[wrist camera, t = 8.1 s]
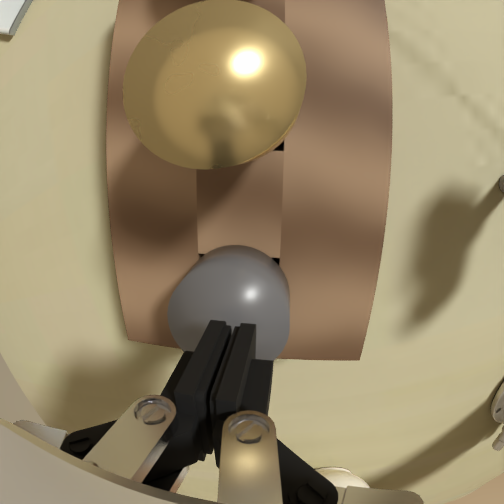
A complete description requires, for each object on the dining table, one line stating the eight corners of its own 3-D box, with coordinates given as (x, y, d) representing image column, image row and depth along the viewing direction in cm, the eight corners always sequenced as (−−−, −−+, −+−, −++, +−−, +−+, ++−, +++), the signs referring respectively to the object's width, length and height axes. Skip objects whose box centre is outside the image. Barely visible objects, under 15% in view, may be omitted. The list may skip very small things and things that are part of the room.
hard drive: (46, -32, 13) (0, -25, 12) (7, 34, 15) (-30, 30, 15) (54, -28, 14) (7, -22, 14) (17, 36, 17) (-22, 31, 16)
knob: (287, 299, 20) (284, 377, 13) (211, 294, 21) (174, 365, 13) (291, 224, 19) (294, 271, 11) (209, 220, 19) (161, 263, 12)
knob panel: (344, 310, 22) (359, 360, 16) (162, 298, 23) (128, 339, 17) (352, -28, 13) (368, -72, 8) (166, -23, 15) (134, -60, 9)
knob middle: (295, 163, 15) (304, 172, 8) (196, 162, 15) (121, 172, 8) (297, 68, 13) (304, -3, 6) (199, 70, 14) (130, 14, 6)
